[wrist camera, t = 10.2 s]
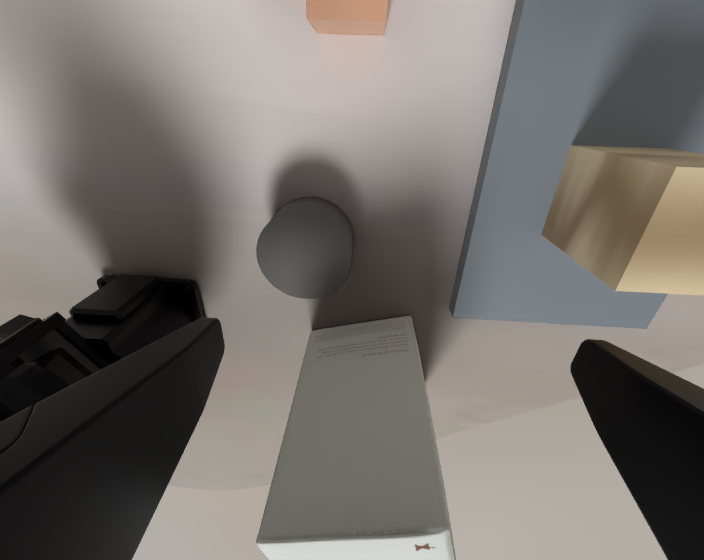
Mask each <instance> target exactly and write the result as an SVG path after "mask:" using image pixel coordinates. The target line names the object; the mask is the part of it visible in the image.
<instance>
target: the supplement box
mask: <svg viewBox="0 0 704 560" xmlns="http://www.w3.org/2000/svg"><path fill="white" fill-rule="evenodd" d="M256 544H257V546H258V547H259V548H260V549H261V551H262V552H263V553H264V554H265V555H266V557H267V558H268V559H269V560H456V557H455V550H454V543H453V536H452V530H451V525H450V519H449V513H448V507H447V501H446V495H445V489H444V483H443V477H442V472H441V466H440V461H439V455H438V450H437V444H436V439H435V434H434V428H433V423H432V418H431V412H430V407H429V401H428V396H427V391H426V385H425V380H424V375H423V369H422V364H421V359H420V354H419V349H418V344H417V340H416V335H415V331H414V326H413V321H412V317H411V316H403V317H397V318H390V319H383V320H377V321H370V322H364V323H356V324H350V325H344V326H337V327H331V328H325V329H319V330H315V331H312V332H311V333H310V336H309V340H308V344H307V348H306V352H305V355H304V359H303V363H302V367H301V371H300V375H299V379H298V383H297V387H296V390H295V394H294V398H293V402H292V406H291V410H290V414H289V418H288V422H287V426H286V429H285V433H284V437H283V441H282V445H281V449H280V452H279V456H278V460H277V464H276V468H275V472H274V476H273V480H272V483H271V487H270V491H269V495H268V499H267V503H266V506H265V510H264V514H263V518H262V522H261V526H260V530H259V533H258V536H257V540H256Z"/></svg>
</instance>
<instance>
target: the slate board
mask: <svg viewBox="0 0 704 560" xmlns="http://www.w3.org/2000/svg"><path fill="white" fill-rule="evenodd" d="M571 145H575V146H605V147H636V148H666V149H675V150H682V151H688V152H695V153H702V154H704V0H516V4H515V9H514V14H513V18H512V23H511V27H510V32H509V37H508V41H507V46H506V51H505V55H504V60H503V64H502V69H501V74H500V78H499V83H498V87H497V92H496V97H495V101H494V106H493V110H492V115H491V120H490V124H489V129H488V133H487V138H486V143H485V147H484V152H483V156H482V161H481V166H480V170H479V175H478V179H477V184H476V189H475V193H474V198H473V202H472V207H471V212H470V216H469V221H468V226H467V230H466V235H465V239H464V244H463V249H462V253H461V258H460V262H459V267H458V272H457V276H456V281H455V285H454V290H453V295H452V299H451V304H450V308H449V309H450V312H451V314H452V317H453V318H467V319H484V320H502V321H519V322H537V323H554V324H571V325H589V326H606V327H624V328H641V329H647V327H648V326H649V324H650V322H651V321H652V319H653V317H654V316H655V314H656V312H657V311H658V309H659V307H660V306H661V304H662V302H663V301H664V299H665V297H666V296H667V293H646V292H625V291H614V290H613V289H612V288H610V287H609V286H608V285H607V284H605V283H604V282H603V281H601V280H600V279H599V278H597V277H596V276H595V275H593V274H592V273H591V272H590V271H588V270H587V269H586V268H584V267H583V266H582V265H580V264H579V263H578V262H576V261H575V260H574V259H572V258H571V257H570V256H569V255H567V254H566V253H565V252H563V251H562V250H561V249H559V248H558V247H557V246H555V245H554V244H553V243H552V242H550V241H549V240H548V239H546V238H545V237H544V236H542V235H541V234H542V231H543V228H544V225H545V222H546V219H547V216H548V213H549V210H550V207H551V204H552V201H553V198H554V195H555V191H556V188H557V185H558V182H559V179H560V176H561V173H562V170H563V167H564V164H565V161H566V158H567V155H568V152H569V149H570V146H571Z"/></svg>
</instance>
